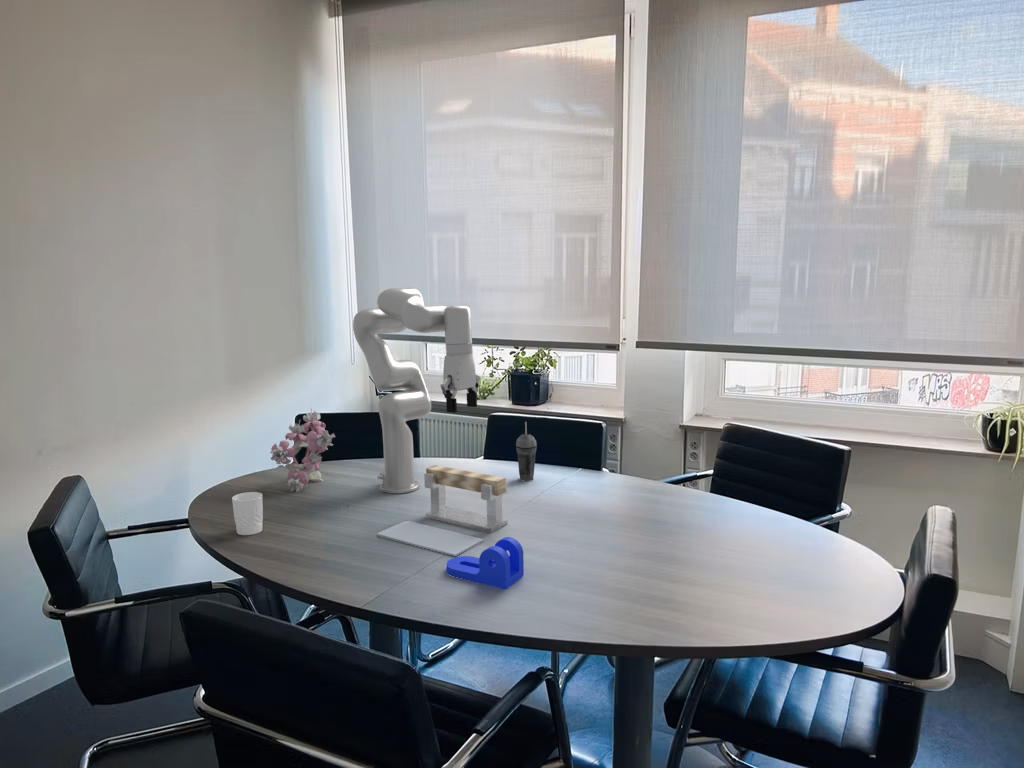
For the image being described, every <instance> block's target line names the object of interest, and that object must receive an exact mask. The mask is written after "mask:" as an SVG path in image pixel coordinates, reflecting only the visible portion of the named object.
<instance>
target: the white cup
mask: <svg viewBox="0 0 1024 768" xmlns="http://www.w3.org/2000/svg"><path fill="white" fill-rule="evenodd" d="M263 501H264V500H263V493H261V492H259V491H258V492H257V491H249V492H242V493H237V494H235V495H233V496H232V497H231V503H232V509H233V517H234V522H235V528H236V533H237V534H238V535H239V536H252V535H257V534H259V533H261V532H262V531H263V529H264V528H263V520H264V518H263V517H264V512H263V511H264V509H263V508H264V507H263V506H264V505H263Z"/></svg>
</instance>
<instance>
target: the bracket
mask: <svg viewBox="0 0 1024 768" xmlns="http://www.w3.org/2000/svg"><path fill="white" fill-rule="evenodd" d="M524 564H525V563H524V550H523V546H522V544H521V543H520V541H519V540H517V539H516V538H514V537H512V536H505V537H502V538H501V539H499V540H498V541H497V542H495V544H494V545H491V546H489V547H487V548H485V549H484V550H483V551H482V552H481V553H480V554H479V557H476V556H471V555H458V556H456V557H452V558H450V559H449V560H447V562H446V573H448V574H449V576H450V575H451V576H450V577H452V576H454V577H453V578H456V577H458V578H457V579H460V578H462V579H461V580H464V579H465V580H464V581H468V580H469V581H470V582H472V581H473V583H478V584H482V585H485V584H486V586H489V585H490V587H493V586H494V588H497V587H498V588H499V589H503V590H507V589H508V587H509V588H510V587H511V586H513V585H514V584H515V583H516V582H518V581H519V580H520V579H522V576H523V575H525V574H524V570H525V569H524ZM448 574H447V575H448ZM523 577H524V576H523ZM469 581H468V582H469ZM498 588H497V589H498Z"/></svg>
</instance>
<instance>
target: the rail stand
mask: <svg viewBox="0 0 1024 768" xmlns="http://www.w3.org/2000/svg"><path fill="white" fill-rule="evenodd" d="M423 477H424V488H425V489H430V508H431V509H430V511H429V512H426V513H425V518H426V517H427V518H426V519H430V518H432V519H431V520H434V519H436V520H435V521H438V520H441V521H440V522H443V521H444V522H443V523H447V522H448V524H451V523H452V524H451V525H455V524H456V526H460V525H461V527H464V528H468V527H469V529H472V528H473V530H477V529H478V531H481V530H482V532H485V531H486V533H489V532H492V533H493V532H496V531H497V530H499V529H501V528H503V527H504V526H506V525H508V519H504V518H503V496H504V495H506V494H507V493H508V479H507V478H506V492H505V493H503V494H501V495H499V496H495V495H494V487H493V485H490V484H485V483H484V484H482V485H481V493H480V496H481V498H480V499H481V500H483V501H486V514H482V513H478V512H473V511H469V510H465V509H464V510H463V509H460V508H455V507H451V506H447V505H446V503H447V502H446V486H445V485H440V484H436V474H433V473H426V472H425V473H424V476H423ZM502 526H503V527H502Z"/></svg>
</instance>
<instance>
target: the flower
mask: <svg viewBox="0 0 1024 768" xmlns="http://www.w3.org/2000/svg"><path fill="white" fill-rule="evenodd" d="M312 410H313V407H310V412H305V414H304V415H303V416H302V419H303V421H304V422H305V423H304V424H300V423H301V419H299V421H298V423H294V425H293V426H292V424H291V423H290V424H289V426H288V430H289V431H291V432H287V433H286V434H285V435H284V438H285V440H284V439H283V440H280V441H279V444H278V445H277V443H274V444H273V445H272V447H271V448H270V449H271V451H270V454H272V455H271V456H272V457H270V460H271V461H275V464H277V465H284V466H285V468H286V469H287V470H288V473H287V477H286V480H287V482H288V483H287V485H286V487H288V490H289V489H290V490H289V491H290V492H293V491H294V490H295V493H297V492H300V490H302V489H303V487H304V486H305V485H307V484H308V483H309V481H310V480H311V481H319V480H320V481H322V482H324V479H323V478H322V473H321V472H320V471H319V470H320V469H321V467H320V466H321V462H322V458H323V456H322V454H321V453H324V452H325V451H328V450H329V449H328V447H332V446H334V444H333V443H332V442H333V441H332V440H333V438H336V435H335V433H331V434H329V431H328V430H325V428H326V424H325V423H324V422H322V421H320V420H321V414H320V412H317V411H314V410H313V411H312ZM309 430H310V431H309ZM303 433H304V434H306V435H304V434H303ZM288 440H289V441H290V442H291V441H293V445H292V446H291V447H289V446H290V442H289V441H288ZM302 448H306V451H305V456H304V457H303V458H302V459H301V464H302V467H301V465H300V464H299V461H298V460H297V458H296V457H295V455H297V454H298V453H299V452H300V450H301V449H302ZM289 458H292V460H293V462H292V460H291V459H289ZM313 468H314V471H311V469H313ZM309 471H311V472H309ZM308 472H309V473H308Z"/></svg>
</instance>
